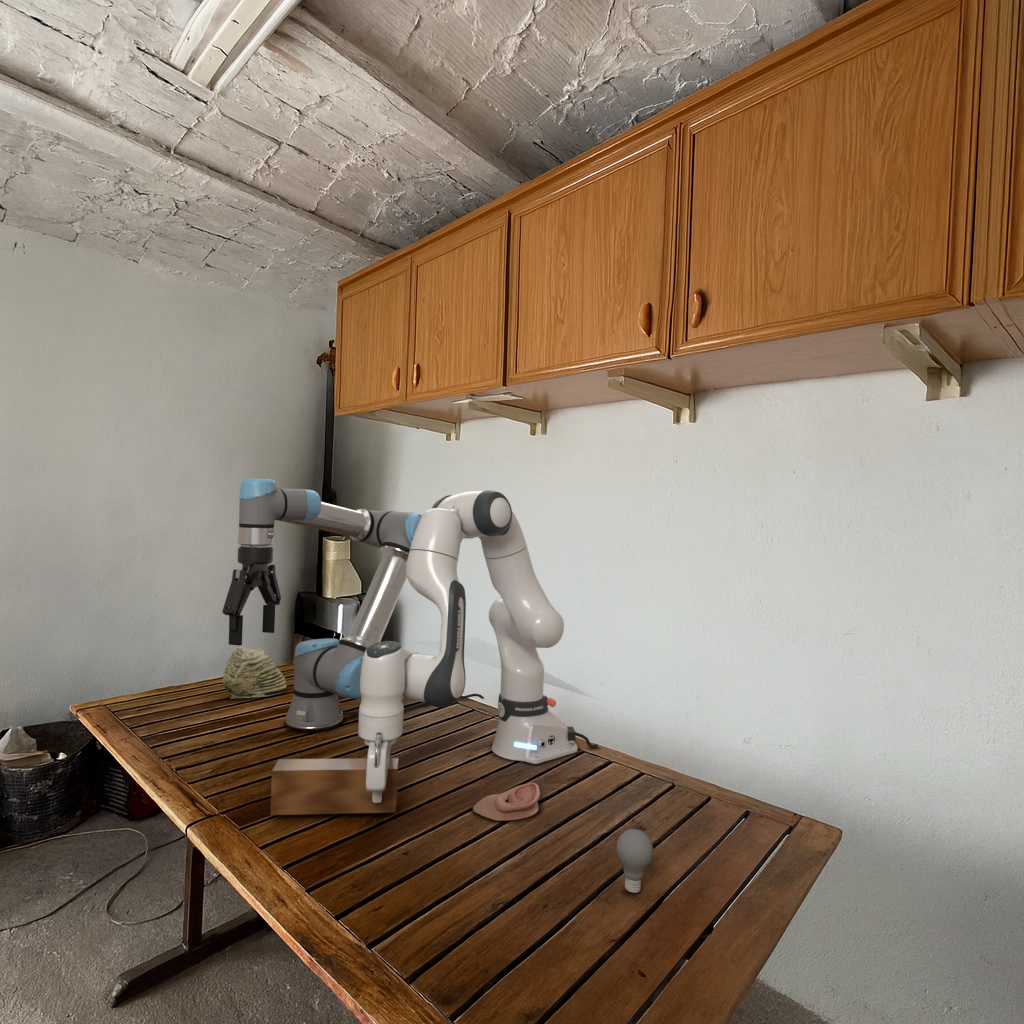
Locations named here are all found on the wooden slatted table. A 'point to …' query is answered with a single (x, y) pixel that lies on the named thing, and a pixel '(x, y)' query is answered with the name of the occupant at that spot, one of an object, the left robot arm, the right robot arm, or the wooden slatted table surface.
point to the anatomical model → (510, 803)
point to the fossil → (252, 674)
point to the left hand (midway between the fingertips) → (252, 638)
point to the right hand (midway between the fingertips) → (378, 792)
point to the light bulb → (634, 857)
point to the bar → (328, 787)
